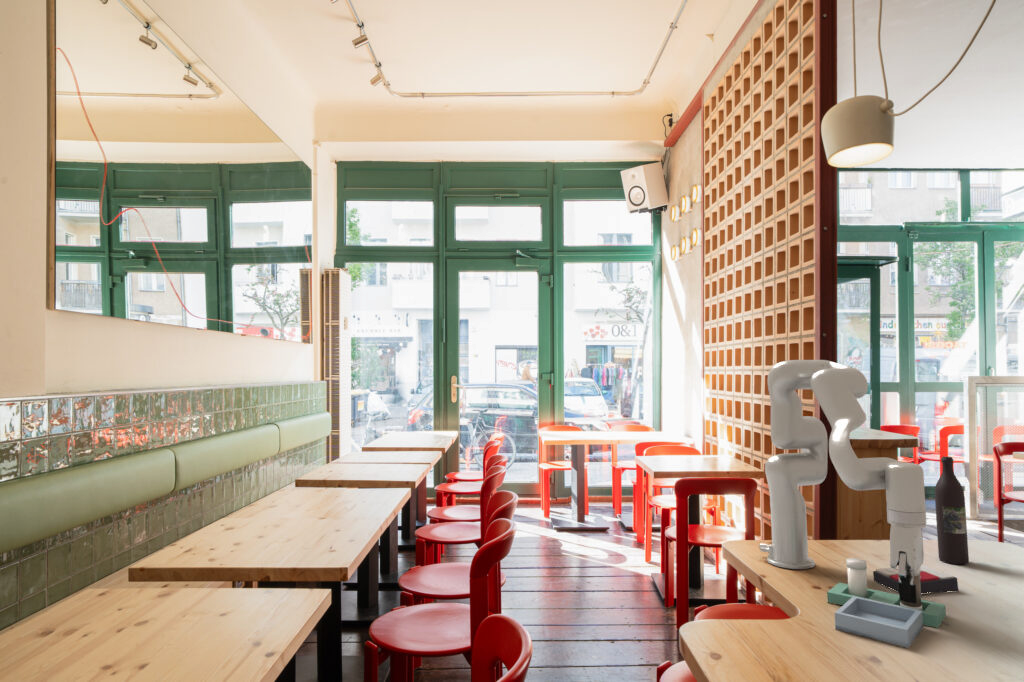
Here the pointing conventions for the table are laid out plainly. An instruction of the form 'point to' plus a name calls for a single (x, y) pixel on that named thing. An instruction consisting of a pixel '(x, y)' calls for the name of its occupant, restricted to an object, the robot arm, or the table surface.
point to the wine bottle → (951, 516)
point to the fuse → (857, 577)
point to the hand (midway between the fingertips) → (910, 597)
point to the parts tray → (879, 621)
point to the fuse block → (930, 610)
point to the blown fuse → (918, 591)
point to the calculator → (928, 576)
